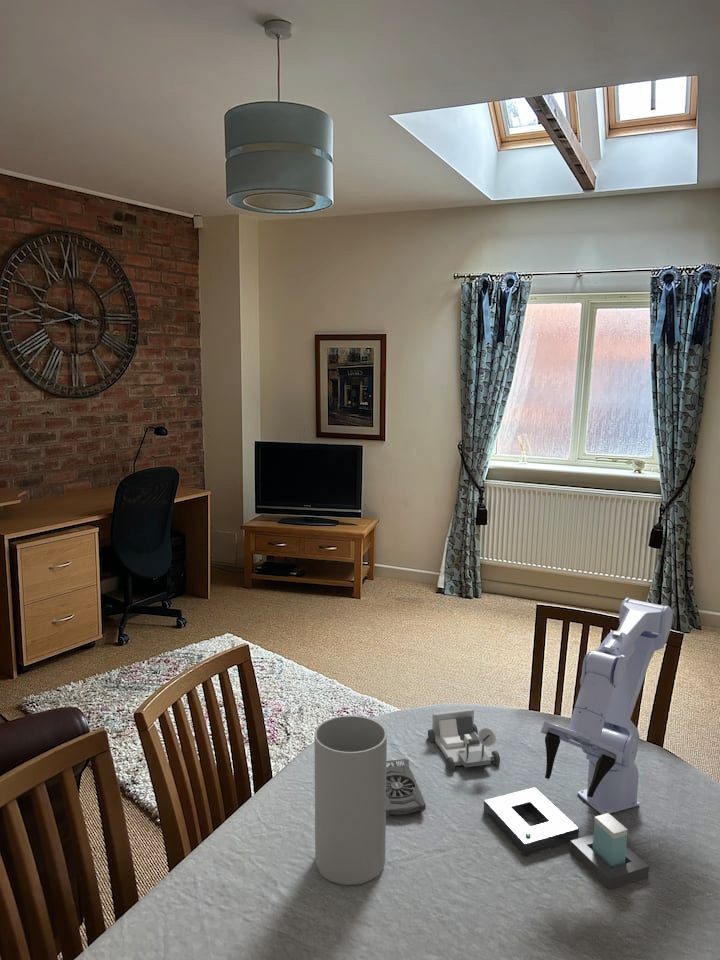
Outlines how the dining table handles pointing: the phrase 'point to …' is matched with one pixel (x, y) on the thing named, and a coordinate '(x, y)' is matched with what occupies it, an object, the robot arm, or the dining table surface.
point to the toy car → (462, 739)
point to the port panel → (525, 838)
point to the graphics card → (402, 790)
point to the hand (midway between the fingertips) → (568, 787)
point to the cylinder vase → (350, 799)
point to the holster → (601, 870)
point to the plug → (610, 840)
